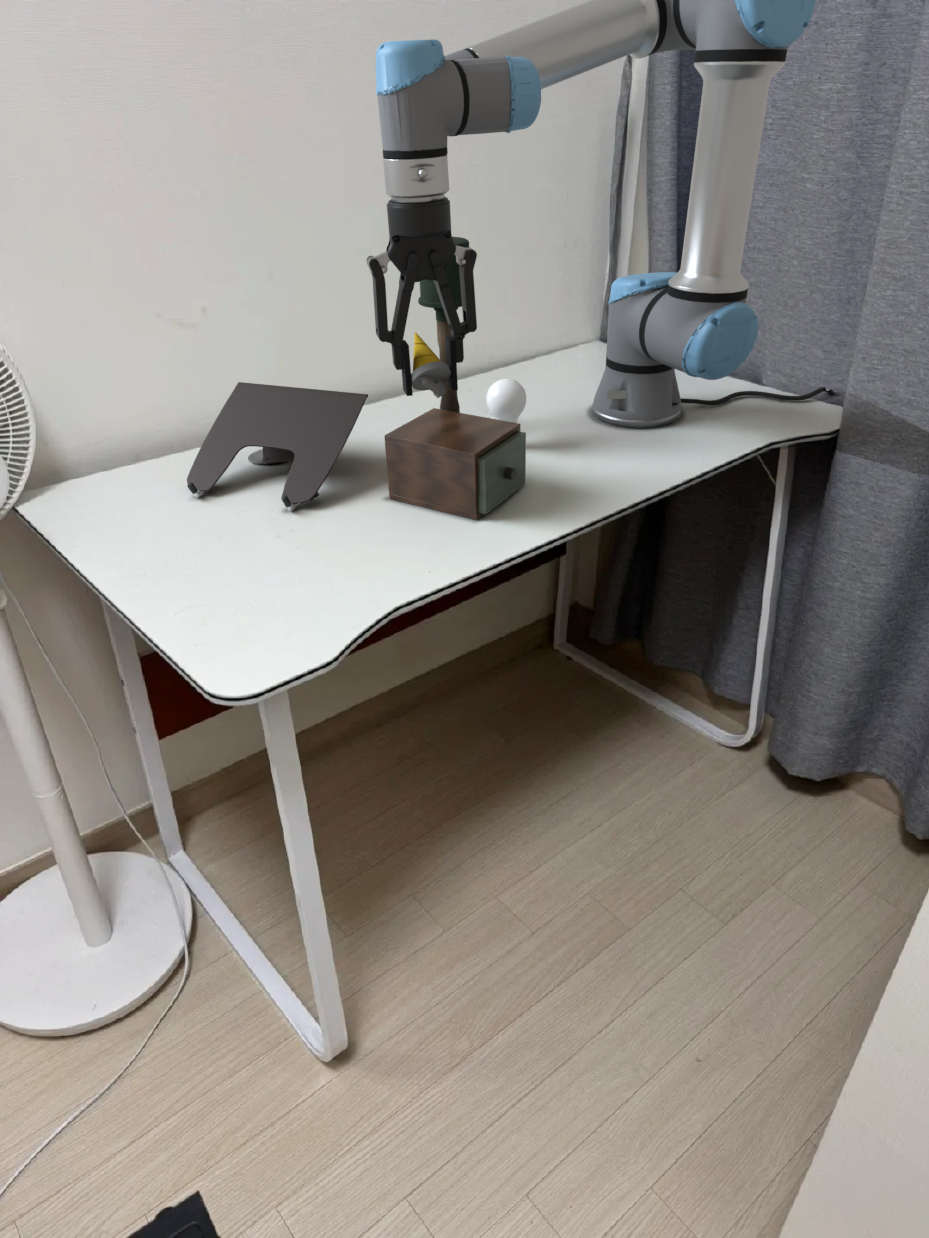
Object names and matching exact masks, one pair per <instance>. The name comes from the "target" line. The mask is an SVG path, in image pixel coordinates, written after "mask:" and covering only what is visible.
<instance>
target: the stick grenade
mask: <svg viewBox="0 0 929 1238" xmlns="http://www.w3.org/2000/svg"><path fill="white" fill-rule="evenodd" d="M452 238H453V240H454V242H455V244H456V246H460V247H464V248H465V247H470V241H469V239H468V238H465V237H461V236H452ZM459 268H460V265H459V264H458V263H457V262H456V256H455V255H454V256H453V257H452V259H451V261H450V263H449V264H448V266H447V268H446V269H445V274H446V277H447V280H448V285H449V289H450V292H451V295H452V298H453V301H454V304H455V308H456V311H457V312H458V309H459V308H462V298H461V285H460V271H459ZM417 303H418V305H420V306H421V307H425V308H431V309H433V310H434V311H435V320H436V336H437V337H436V339H437V345H438V349H439V350H438V351H439V352H438V353H439V359H440V360H441V362H445V363H446V364H447V362H446V343H445V335H451V331H450V328H449V325H448V322H447V319H446V316H445V313H444V310H443V307H442V304H441V301H440V298H439V295H438V292H437V289H436V286H435V283H434V281H430V280H422V281H420V282H419V297H418V299H417ZM444 387H445V390H446V392H445V393H444V394H443V395H442V396H440V403H439V409H442V410H447V411H453V412H458V413H461V411H460V410H461V409H460V402H459V399H458V390H453V391H452V389H451V388H450V387H449V385H448V380H447V381H446V382H445V383H444Z"/></svg>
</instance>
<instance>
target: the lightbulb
mask: <svg viewBox="0 0 929 1238" xmlns="http://www.w3.org/2000/svg"><path fill="white" fill-rule="evenodd" d="M485 396H486V397H485V402H486V403H485V405H486V407H487V409H488V411H489V413H490V415H492V417H493V419H497V420H502V421H508V422H513V423H518V420H519V418H520V417H521V415H522V414H523V412H524V410H525V408H526V405H527V393H526V389H525V388H524V387H523V385H522V384H521V383H520V382H519V381H518V380H516V379H512V378H505V377H504V378H500V379H498V380H496V381H495V382H493V383H492V384H491V385H490V386H489V388H488V390H487V392H486V394H485Z"/></svg>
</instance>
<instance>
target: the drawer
mask: <svg viewBox="0 0 929 1238" xmlns="http://www.w3.org/2000/svg"><path fill="white" fill-rule="evenodd" d="M526 455H527V432H524V431H521V430H520V431H518V432H517V433H515V434H514V435H512V436H511V437H509V438H506V439H505V440H503V441H502V442H500V443H499V444H497V445H496V446H494V447H493V448H491V449H490V450H488V451H487V452H485V453H484V454H482V455H481V456H479V457H478V502H479V513H483V514H484V515H487V514H489V513H490V512H491V511H492V510H494V509H495V508H496V507H498V506H499V505H500V504H501V503H502V502H504V501H505V500H506V499H508V498H509V497H511V496H512V495H513V494H514V493H515V492H516V491H518V490H519V489H521V488H522V487H523V486H525V485H526V466H527V465H526V464H527V463H526V461H527V459H526V457H527V456H526Z"/></svg>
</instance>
